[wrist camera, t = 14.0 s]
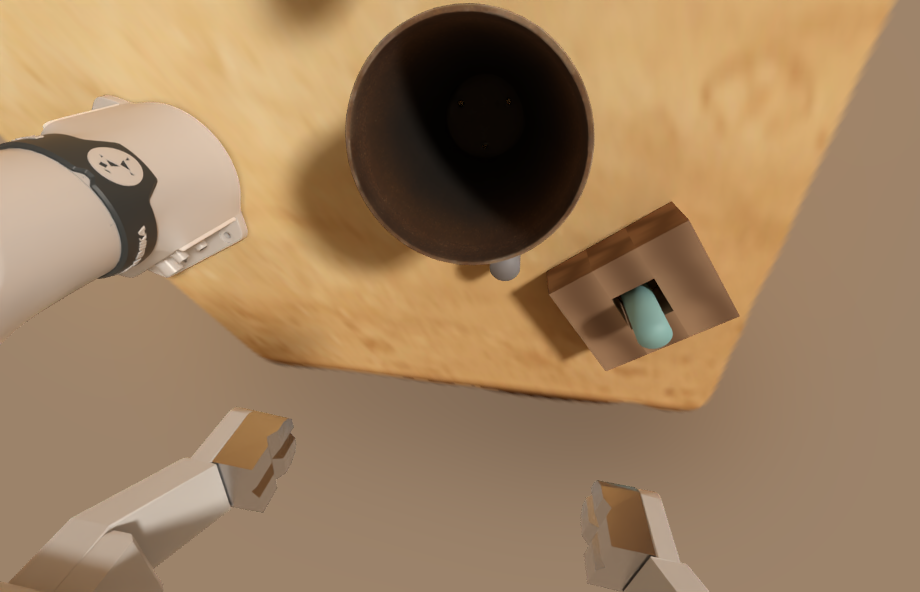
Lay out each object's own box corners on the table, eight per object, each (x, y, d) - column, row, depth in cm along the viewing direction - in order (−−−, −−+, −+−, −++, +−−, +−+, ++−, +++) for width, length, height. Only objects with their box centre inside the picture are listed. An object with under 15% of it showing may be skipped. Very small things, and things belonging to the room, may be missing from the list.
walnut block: (599, 343, 49) (605, 371, 45) (546, 271, 45) (548, 294, 41) (719, 290, 43) (739, 316, 39) (671, 201, 39) (689, 220, 35)
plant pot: (585, 25, 33) (626, 11, 20) (553, 201, 41) (566, 277, 27) (408, 15, 34) (331, -5, 21) (410, 187, 42) (355, 253, 29)
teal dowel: (623, 296, 45) (645, 353, 37) (610, 277, 44) (630, 331, 36) (649, 284, 44) (678, 340, 36) (637, 263, 43) (663, 316, 35)
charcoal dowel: (503, 263, 45) (500, 285, 41) (487, 243, 44) (483, 264, 40) (525, 250, 44) (525, 271, 40) (510, 229, 43) (508, 248, 39)
